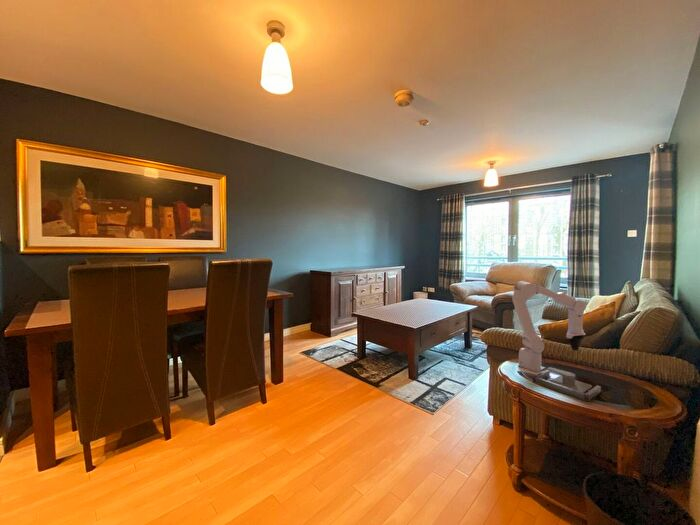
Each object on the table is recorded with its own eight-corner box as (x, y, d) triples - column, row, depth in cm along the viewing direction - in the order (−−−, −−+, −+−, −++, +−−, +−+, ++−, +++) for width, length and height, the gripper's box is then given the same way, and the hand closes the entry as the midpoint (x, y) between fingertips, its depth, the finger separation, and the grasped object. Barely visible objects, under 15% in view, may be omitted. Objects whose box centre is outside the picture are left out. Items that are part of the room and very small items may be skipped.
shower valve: (554, 364, 139) (593, 375, 126) (554, 375, 139) (592, 387, 127) (541, 370, 133) (581, 383, 120) (541, 382, 133) (580, 395, 120)
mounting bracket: (532, 382, 132) (532, 376, 132) (546, 374, 139) (546, 369, 139) (587, 401, 115) (587, 395, 115) (600, 392, 122) (600, 386, 122)
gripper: (578, 327, 137) (578, 355, 138) (591, 322, 145) (590, 349, 145) (561, 324, 143) (561, 351, 144) (574, 319, 151) (574, 345, 151)
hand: (574, 349), depth 145 cm, fingers closed
